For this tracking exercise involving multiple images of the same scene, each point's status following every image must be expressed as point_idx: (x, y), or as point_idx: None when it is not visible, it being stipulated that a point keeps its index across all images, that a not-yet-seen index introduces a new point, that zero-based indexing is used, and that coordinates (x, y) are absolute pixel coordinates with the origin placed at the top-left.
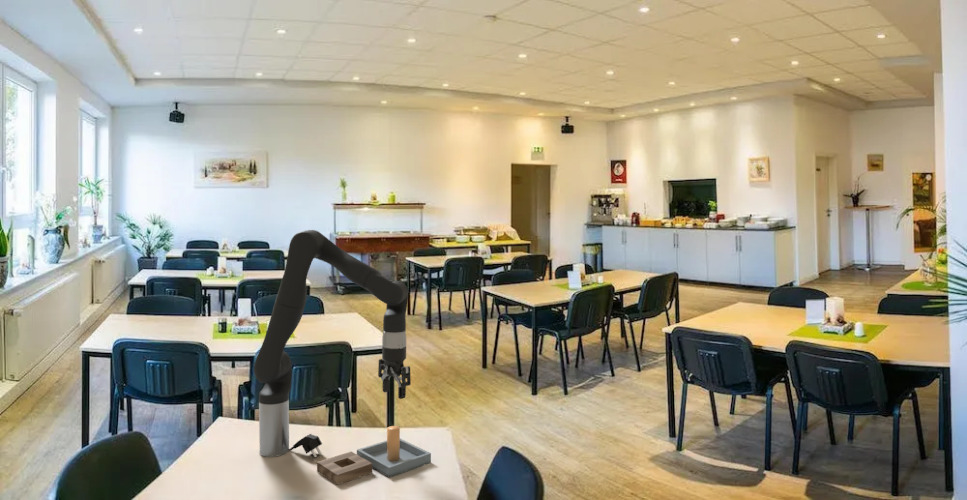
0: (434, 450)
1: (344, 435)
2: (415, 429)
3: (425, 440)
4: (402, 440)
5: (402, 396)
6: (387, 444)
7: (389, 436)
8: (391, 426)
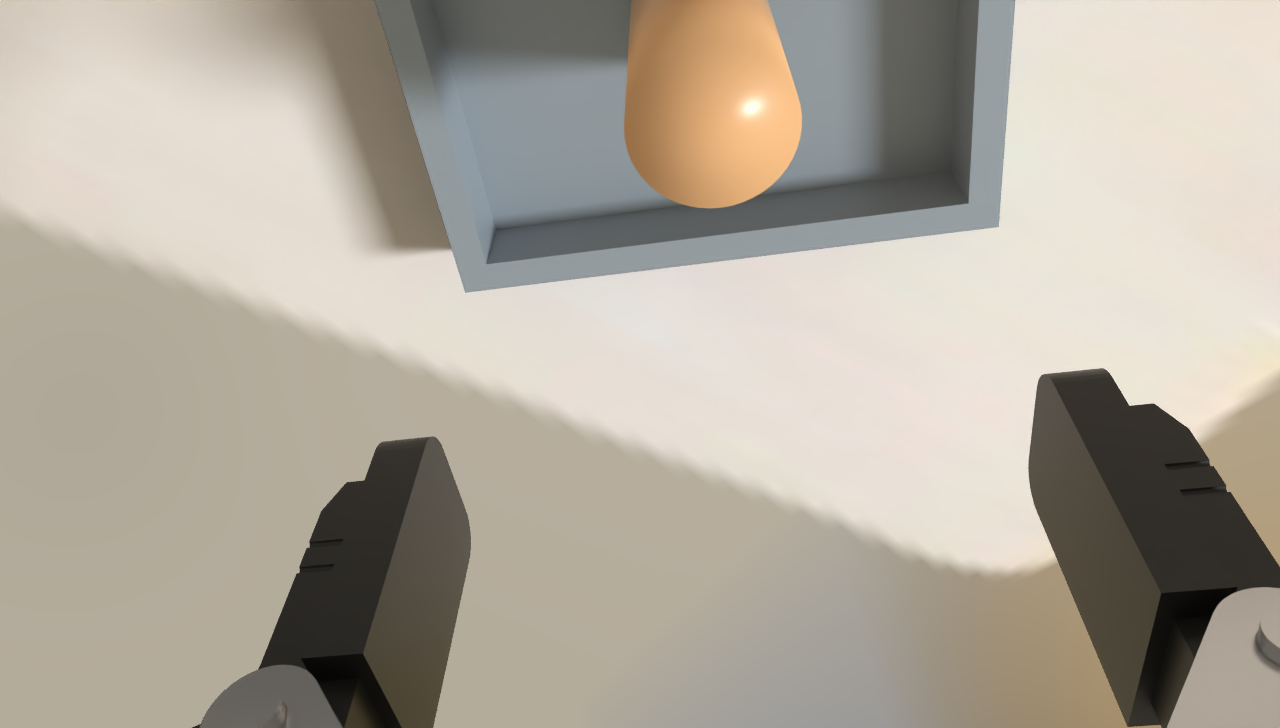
0: (681, 375)
1: None
2: None
3: (901, 410)
4: (892, 227)
5: (335, 512)
6: None
7: (672, 18)
8: (786, 135)
